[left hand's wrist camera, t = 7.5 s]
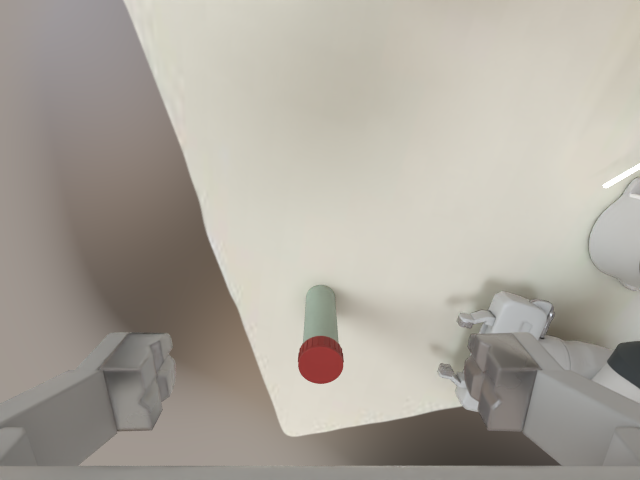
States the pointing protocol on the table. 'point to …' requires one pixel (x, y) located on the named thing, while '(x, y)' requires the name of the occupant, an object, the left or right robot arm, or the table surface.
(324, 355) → the lid
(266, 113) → the table surface
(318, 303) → the jar
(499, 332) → the right robot arm
